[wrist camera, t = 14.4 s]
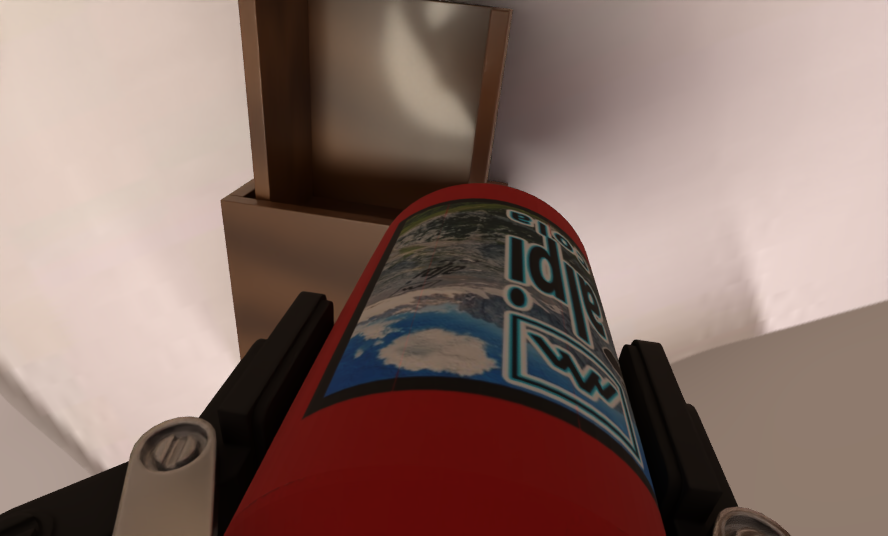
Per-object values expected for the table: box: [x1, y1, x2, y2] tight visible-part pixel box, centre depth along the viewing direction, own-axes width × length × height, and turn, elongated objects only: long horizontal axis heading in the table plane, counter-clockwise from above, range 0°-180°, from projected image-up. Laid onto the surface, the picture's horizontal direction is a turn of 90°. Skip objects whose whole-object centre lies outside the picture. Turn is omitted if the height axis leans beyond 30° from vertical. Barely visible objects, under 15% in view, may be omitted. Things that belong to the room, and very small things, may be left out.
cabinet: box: [221, 179, 508, 360], centre depth 32 cm, size 16×14×9 cm
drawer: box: [238, 0, 513, 220], centre depth 24 cm, size 20×13×7 cm, turn 174°
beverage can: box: [224, 183, 666, 536], centre depth 11 cm, size 7×7×12 cm
